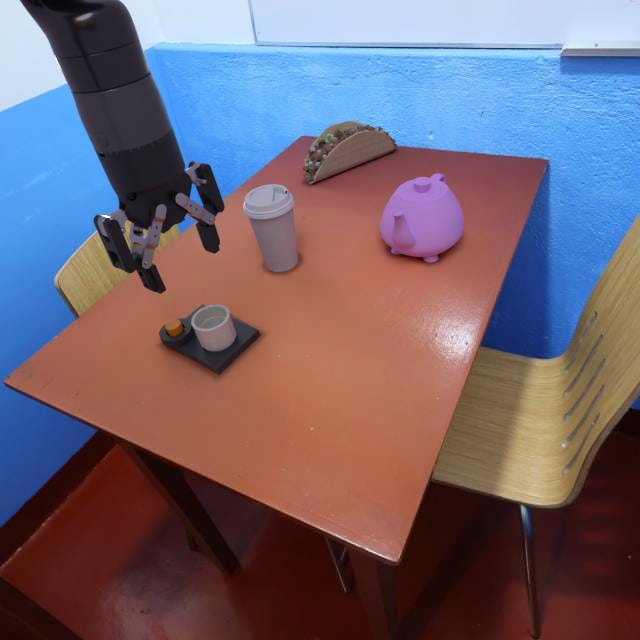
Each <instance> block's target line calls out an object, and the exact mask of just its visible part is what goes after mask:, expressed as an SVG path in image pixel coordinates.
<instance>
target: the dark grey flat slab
mask: <svg viewBox="0 0 640 640" xmlns="http://www.w3.org/2000/svg"><path fill="white" fill-rule="evenodd" d="M206 306H207V305H205V304H202V303H201V305H199V306H198V307H197V308H196V309H194V311H192V312H191V313H190V314H188V315H187V316H186V317H184V318H177V319H178V320H180V322H181V324H182V326H183V328H184V329H183V332H182V333H181V334H179V335H176V336H170V335H169V334H168V332H167V330H166V328H165V326H166V324H167V323H168V322H169V321H168V322H167V321H166V323H165V324H164V325H162V326H161V328H160V329H159V332H158V335H159V339H160V341H161V343H162V345H163V346H166V347H167V348H169V349H171V350H173V351H175V352H177V353H179V354H181V355H182V356H183V357H186V358H188V359H189V360H191V361H193V362H195V363H197V364H199V365H200V366H202V367H204V368H206V369H207V370H210V371H211V372H213V373H215V374H217V376H220V375H221V374H222V373H223V372H224V371H226V369H227V368H228V367H229V366H230V365H231V364H232V363H233V362H235V360H236V359H238V358H239V356H241V355H242V354H243V353H244V352H245V351H246V350H247V349H248V348H250V346H251V345H253V343H255V341H256V340H257V339H259V337H261V333H260V330H259V329H258V328H256V327H254V326H252V325H249V324H247V323H244V322H243V321H241V320H238V319H236V318H234V317H232V319H233V322H234V325H235V328H236V338H235V341H234V342H233V343H232V345H230V346H229V347H228V348H226V349H224V350H221V351H215V352H214V351H208V350H206V349H205V348H203V347H202V346H201V344H200V343H199V340H198V338H197V336H196V334H195V331H194V329H193V327H192V325H191V320H192V317H193V316H194V314H195V313H196V312H197V311H198V310H200V309H201V308H204V307H206Z"/></svg>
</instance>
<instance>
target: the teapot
mask: <svg viewBox="0 0 640 640" xmlns="http://www.w3.org/2000/svg"><path fill="white" fill-rule="evenodd" d="M446 183H447V178H446V176H445V175H444V174H443V173H438V172H437V173H434V174H432V175H431V176H430V177H428V176H419V177H416V178H414V179H410V180H407V181H405V182H403V183H402V184H400V185H399V186H398V187H397V188H396V189H395V191H394V192H393V194H391V196H390V198H389V200H388V201H387V203H386V205H385V207H384V209H383V212H382V216H381V220H380V227H379V228H380V235H381V237H382V239H383V241H384V243H386V244H387V245H388V246H389V247H390V248H391V249H390V252H391V253H392V254H393V255H405V256H409V257H415V258H416V257H417V258H422V259H423V261H424V262H426V263H435V262H438V261H439V256H438V255H440V254H442V253H445V252H447V250H449V249H450V248H452V247H453V246H454V245H456V244H457V242H459V240H460V239H461V238H462V236H463V234H464V231H465V218H464V213H463V209H462V206H461V204H460V202H459V200H458V198H457V197H456V195H455V194H454V192H453V191H452V189H451V188H450V187H449V186H448V185H447V184H446Z"/></svg>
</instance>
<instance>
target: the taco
mask: <svg viewBox="0 0 640 640" xmlns="http://www.w3.org/2000/svg"><path fill="white" fill-rule="evenodd" d="M396 148H398V144H397V141H396V139H395V138H392V136H391V135H390V132H389V131H385V130H384V128H382V126H375V127H374V126H372V125H370V123H369V124H368V123H365V124H363V123H361V122H358V121H356V120H347V121H343V122H338V123H335V124H330V125H329V126H328V127H326V128H325V129H324V130H323V131H322V132H321V134H319V136H318V137H317V138H316V139H315V140H314V141H313V142H312V144H311V146H310V147H309V148H308V149H307V155H306V158H305V159H304V166H303V167H302V170H303V171H304V172H303V174H302V176H303V178H304V180H305V182H306V183H308V184H309V185H313V184H315V183H317V182H321V181H323V180H324V179H327V178H330V177H333V176H334V175H338V174H340V173H341V172H345V171H347V170H349V169H353V168H355V167H358V166H359V165H362V164H365V163H367V162H369V161H372V160H374V159H378V158H379V157H382V156H385V155H386V154H389V153H392V152H394V150H395V149H396Z"/></svg>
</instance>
